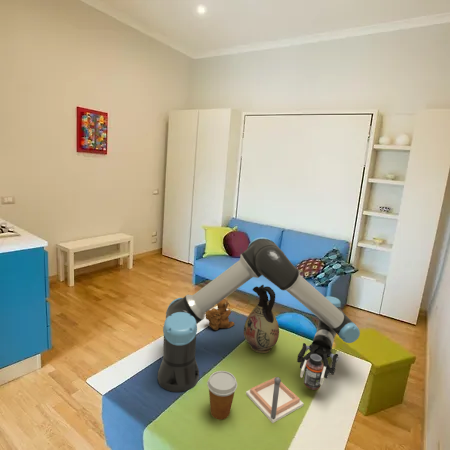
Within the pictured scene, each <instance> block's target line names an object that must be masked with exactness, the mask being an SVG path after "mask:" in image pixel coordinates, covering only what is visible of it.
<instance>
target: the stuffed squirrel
mask: <svg viewBox="0 0 450 450" xmlns="http://www.w3.org/2000/svg"><path fill="white" fill-rule="evenodd" d="M216 305H217V308H215V307H212V308H211V309H210V310H208V311H207V312H206V313H205V319H206V320H207V321H208V326H209V327H210V328H211V329H212V330H213V331H218V330H219V329H230V328H232V327H233V326H235V322H234V321H230V319H229V316H231V314H232V310H231V309H230V308H229V309H228V307H231V305H230V303H229V302H228V300H227V298H224V299H223V300H222V301H220V302H219V303H218V304H216Z"/></svg>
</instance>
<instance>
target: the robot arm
mask: <svg viewBox="0 0 450 450" xmlns="http://www.w3.org/2000/svg"><path fill="white" fill-rule="evenodd" d="M239 257H240V258H239V260H237V261H236V262H235V263H234V264H232V265H230V267H229V268H227V269H226V270H224V271H223V272H221V273H220V274H219V275H218V276H217V277H215V278H214V279H212V280H211V281H210V282H208V283H207V284H206V285H204V286H203V287H202V288H200V289H199V290H198V291H197V292H195V293H194V294H186V295H185V296H184V297H178V298H176V299H173V300H172V301H171V302H170V303H169V305H168V306H167V308H166V313H165V321H164V323H163V327H162V331H163V347H162V349H163V351H162V361H161V363H160V365H159V368H158V371H157V382H158V384H159V386H160V387H161V388H163V389H164V390H166V391H169V392H173V393H181V392H186V391H189V390H191V389H192V388H194V387H195V386H196V385H197V383H198V382H199V379H200V370H199V366H198V363H197V360H196V351H197V349H196V347H197V346H196V345H197V332H198V324H199V323H200V322H201V321H203V320H204V319H205V318H206V314H205V313H206V312H207V311H208V310H212V308H215V306H216V305H217V304H218V303H219V302H220V301H222V300H223V299H227V297H229V296H230V295H231V294H233V292H235V291H237V290H238V289H239V288H240V287H242V286H243V285H244V284H246V283H248V281H250V280H251V279H253V278H256V279H258V278H260V277H263V278H265V279H266V280H268V281H269V282H270V283H272V284H273V285H275V286H276V287H277V288H279V290H281V291H286V292H288V293H289V294H290V295H291V296H292V297H293V298H295V300H297V301H298V302H299V303H301V304H302V305H303V306H304V307H305V308H306V309H308V311H310V312H311V313H312V314H313V315H315V316H316V317H317V318H318V324H317V330H316V332H315V334H314V337H313V340H312V343H311V344H309V345H308V344H307V343H304V342H303V343H302V348H301V350H300V351H299V353H298V354H297V361H296V362H297V363H298V364H299V363H300V364H299V369H300V375H299V377H300V378H304V375H305V368H306V362H307V360H308V359H310V355H311V354H317V355H319V356H321V358H322V363H323V366H324V367H323V372H322V375H321V379H320V385H321V386H323V382H324V379H328V377H329V374H331V375H333V376H334V375H335V373H336V365H337V362H338V359H339V354H338V353H332V352H333V351H332V349H333V345H334V341H335V337H336V335H337V336H338V337H339V338H340V339H341V340H342V341H343V342H344V343H348V344H351V343H352V344H353V343H354V342H356V341H357V340H358V339H359V337H360V334H361V331H360V329H359V327H358V326H357V324H356V323H355V322H353V320H352V319H350V317H348V315H346V313H345V312H344V311H343V310H342V309H341V308H342V307H341V304H342V302H341V300H340V299H339V298H338V297H335V296H329V295H328V296H327V295H326V296H325V295H324V294H323V293H321V292H320V291H318V289H316V288H315V287H314V286H313V285H312V284H311V283H310V282H308V281H307V280H306V279H305V278H304V277H303V276H302V275H301V274H300V270H299V269H298V268H297V267H296V266H295V265H294V264H293V263H292V261H291V260H290V259H289V258H288V257H287V255H286V254H285V253H284V251H283V250H282V249H281V248H280V247H279V246H278V245H277V244H276V242H275V241H273V240H271V239H270V238H268V237H256V238H254V239H253V240H252V241H251V242H250V243H249V244H248V246H247V249H245V250H244V251H243V252H242V253H240V256H239ZM308 350H309V352H308ZM307 352H308V353H307ZM305 354H306V355H305ZM328 358H330V359H331V361H332V362H331V365H330V364H329V360H328Z"/></svg>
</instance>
